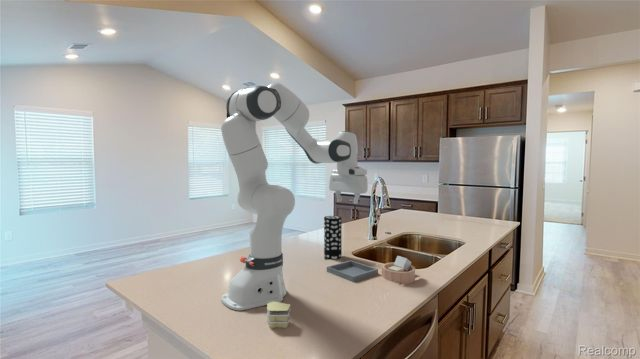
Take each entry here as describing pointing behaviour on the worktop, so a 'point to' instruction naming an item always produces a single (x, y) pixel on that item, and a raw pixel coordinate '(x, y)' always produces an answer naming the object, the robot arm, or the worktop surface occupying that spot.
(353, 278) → the parts tray
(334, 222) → the spotted tube
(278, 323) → the pale green layered block
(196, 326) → the worktop surface
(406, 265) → the pale blue cube
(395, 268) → the cream small cube
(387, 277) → the terracotta bowl
